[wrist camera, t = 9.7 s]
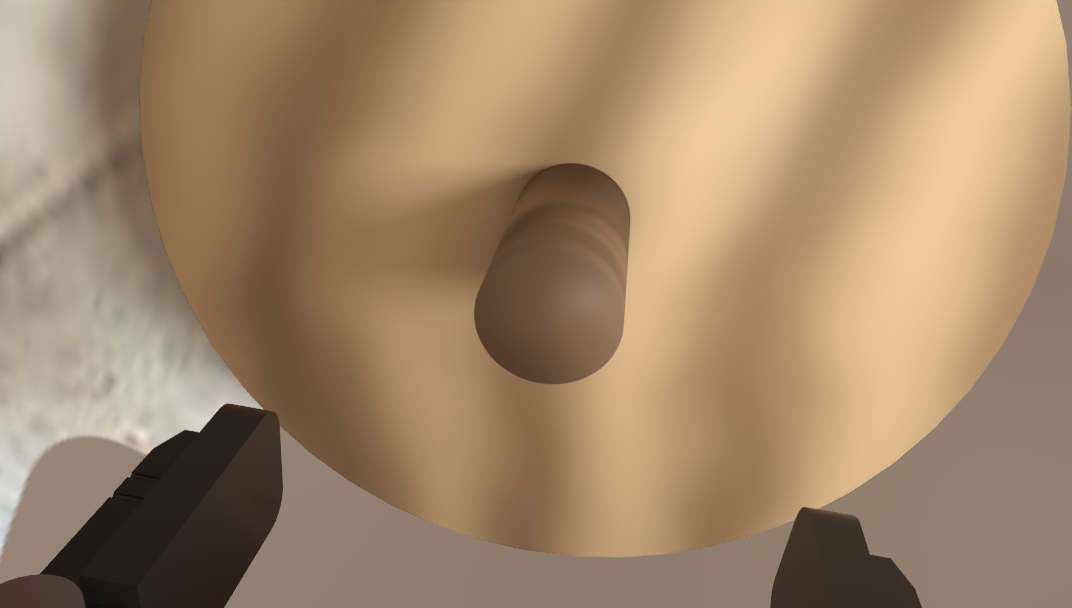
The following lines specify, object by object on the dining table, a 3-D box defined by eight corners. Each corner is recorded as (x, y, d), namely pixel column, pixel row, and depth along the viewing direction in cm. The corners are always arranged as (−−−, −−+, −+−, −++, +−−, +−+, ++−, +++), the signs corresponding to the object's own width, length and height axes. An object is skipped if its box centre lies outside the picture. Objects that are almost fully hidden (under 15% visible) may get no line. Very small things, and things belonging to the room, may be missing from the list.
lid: (1247, -261, 17) (1607, -351, 11) (874, 588, 29) (938, 788, 22) (110, -395, 18) (-177, -546, 12) (197, 465, 30) (74, 620, 24)
